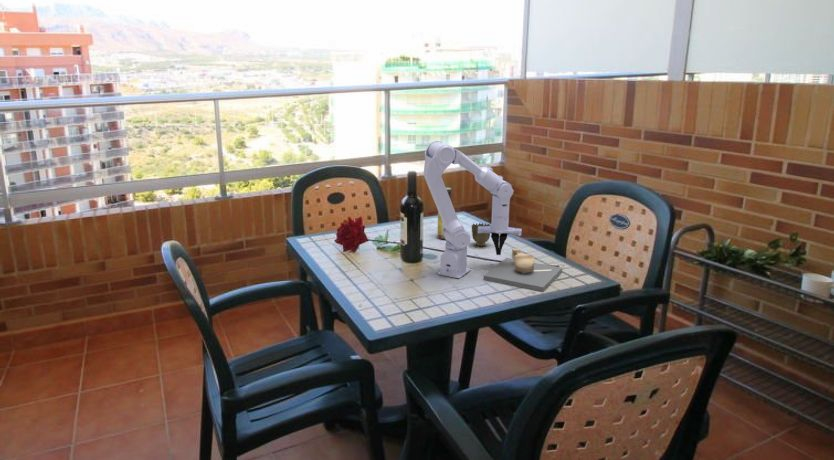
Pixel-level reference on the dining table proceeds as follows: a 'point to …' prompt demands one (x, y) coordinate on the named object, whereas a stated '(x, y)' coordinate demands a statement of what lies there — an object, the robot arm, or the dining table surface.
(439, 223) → the sauce bottle
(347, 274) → the dining table surface
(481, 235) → the cup
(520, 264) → the beige rounded piece
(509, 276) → the base plate
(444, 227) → the robot arm
